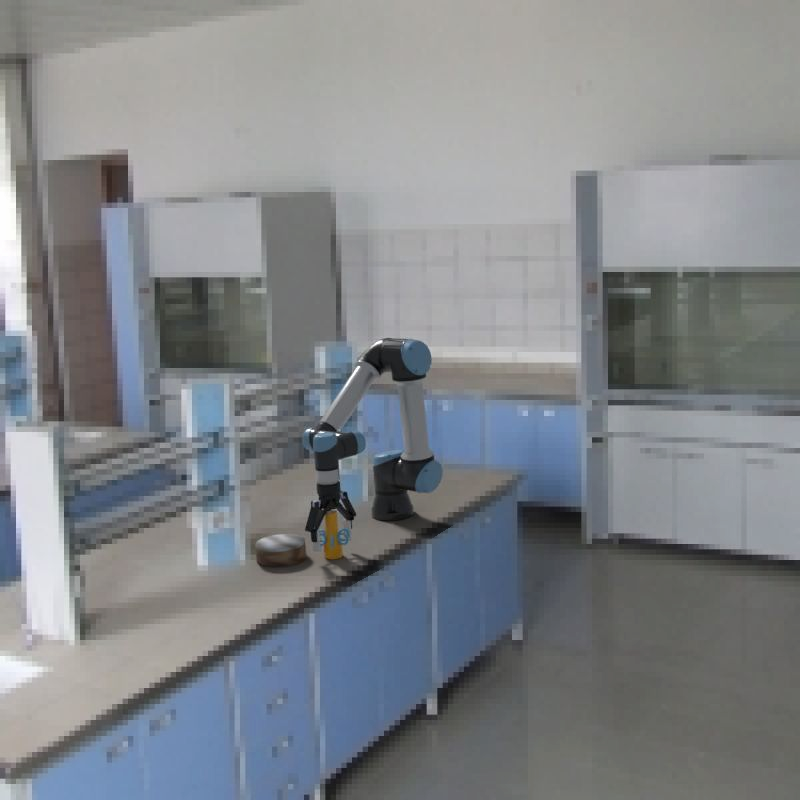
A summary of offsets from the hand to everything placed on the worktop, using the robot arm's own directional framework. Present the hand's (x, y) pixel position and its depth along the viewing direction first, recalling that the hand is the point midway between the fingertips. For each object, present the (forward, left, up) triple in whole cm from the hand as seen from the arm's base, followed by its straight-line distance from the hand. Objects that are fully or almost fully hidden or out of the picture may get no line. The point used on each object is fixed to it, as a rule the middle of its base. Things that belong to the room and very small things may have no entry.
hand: (332, 545), depth 347 cm
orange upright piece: (0, 0, -4) cm, 4 cm away
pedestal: (+11, -13, -4) cm, 17 cm away
